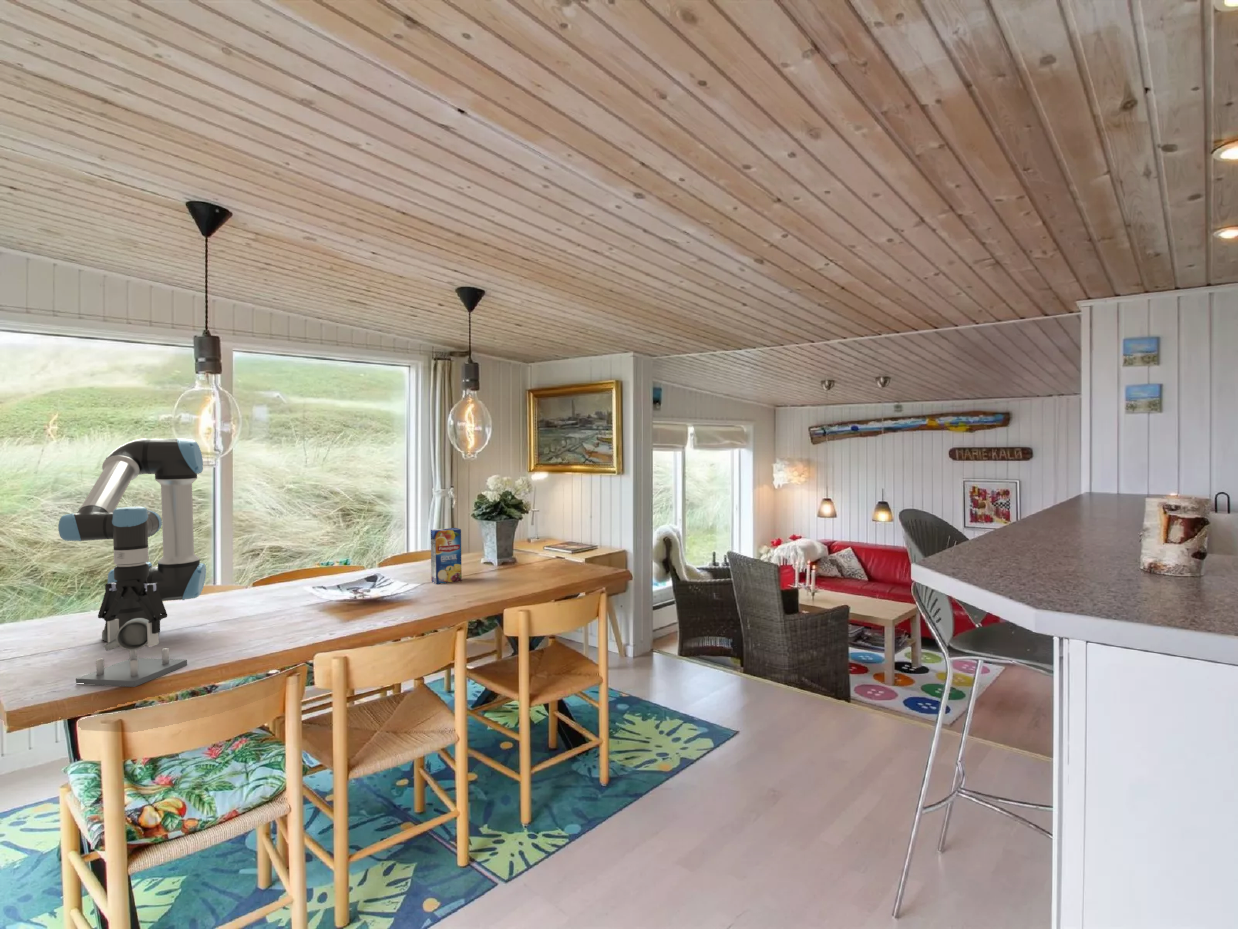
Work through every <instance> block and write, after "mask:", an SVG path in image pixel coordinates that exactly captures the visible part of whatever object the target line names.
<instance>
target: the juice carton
mask: <svg viewBox="0 0 1238 929" xmlns="http://www.w3.org/2000/svg"><path fill="white" fill-rule="evenodd" d="M462 568H463V567H462V529H461V528H457V527H452V528H451V527H449V528H437V529H430V569H431V570H430V571H431V572H430V573H431V574H430V575H431V576H430V577H431V578H430V580H431V581H432V582H431V583H433V582H434V583H433V584H435V583H436V584H435V585H440V584H439V583H444V584H447V583H446V582H452V583H459V582H458V581H461V582H462V580H463V579H462V574H463V573H462V570H463V569H462Z"/></svg>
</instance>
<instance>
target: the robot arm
mask: <svg viewBox="0 0 1238 929" xmlns="http://www.w3.org/2000/svg"><path fill="white" fill-rule="evenodd" d="M203 466H204V462H203V456H202V451H201V447H200V446H199V444H198V443H197V441H195V440H194V439H191V438H189V439H188V438H178V437H177V438H139V439H135V440H132V441H129V442H126V443H124V444H123V445H122V444H121V445H119V447H117V448H116V449H114V450H112V452H111V453H109V455H107V456H106V458H105V460H103V462H102V466H101V467H102V468H101V469H102V472H101V473H100V475H99V477H98V478H97V480H96V481H95V483H94V485H93V486H92V488H91V490H90V492H89V493H88V495H87V497H86V498H85V500H84V501H83V503H82V504H81V506H80V508H79V509H78V510H77V512H76V513H74V512H71V513H67V514H64V515H63V514H62V515H61V517H60V518H59V522H58V525H57V527H58V529H57V530H58V535H59V537H60V538H61V540H63V541H67V542H85V541H98V540H99V541H102V540H112V541H113V542H112V543H113V544H112V545H113V564H114V565H116V566H114V567H113V569H111V570H110V571H109V572H108V573H107V582H106V584H105V586H104V588H105V591H104V595H103V599H102V602H101V605H100V608H99V611H98V614H97V618H98V619H103V620H104V621H105V624H104V629H102V631H101V640H102V641H103V640H104V642H107V643H109V642H111V641H112V640H114V639H116V635H117V632H118V630H119V629H120V628H121V627H122V626H123V625H124V624H125V623H126V622H128V621H130V620H132V619H135V618H144V619H147V620H149V622H147V638H148V643H147V647H148V648H149V647H150V648H151V647H154V646H156V645H159V643H160V642H159V641H160V640H159V633H160V632H161V620H163V619H166V618H168V613H167V611H166V607H165V605H164V604H165V603H164V602H166V601H167V602H169V601H181V600H182V601H185V600H192V599H193V600H194V599H197V598H199V597H200V596H201V594H202V593H203V592H202V591H203V589H204V586H205V583H206V576H207V565H206V564H205V563H202V562H200V561H201V560H200V557H199V556H198V555H196V554H195V546H194V545H195V543H194V542H195V540H194V538H195V537H194V511H193V510H194V507H193V506H194V505H193V504H194V503H193V483H194V482H195V481H196V480H197V479H198V475H199V474H202V472H203V470H204V467H203ZM139 475H154V478H155V479H154V480H155V481H156V482H157V483H159V485H160V495H161V496H160V498H161V516H160V515H159V514H158V513H157V512H155V511H153V510H149V509H147V507H144V506H123V507H117V506H118V505H119V503H120V501H121V499H122V498H123V496H124V494H125V492H126V490H127V489H128V487H129V485H130V483H131V481H133V480H135V479H136V478H137V477H138V476H139ZM161 528H162V530H161V531H162V533H161V534H162V554H163V555H162V557H161V558H160V559H159V560H158V561H157V566H153V564H152V562H150V561H149V538H150V537H152V536H154V535H155V534H157V533H158V532H160V529H161Z"/></svg>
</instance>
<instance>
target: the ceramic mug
mask: <svg viewBox="0 0 1238 929" xmlns="http://www.w3.org/2000/svg"><path fill="white" fill-rule="evenodd" d="M147 622H149V620H147V619H144V618H135V619H132V620H130V621H128V622H126V623H125V624H124V625H123V626H122V627H121V628H120V629H119V630H118V632H117V635H116V639H114V640H112V641H111V642H109V643H108V642H107V643H106V644H104V645H103V648H104V650H106V651H107V652H108V651H111V650H113V649H116V648H118V647H120V648H121V649H122V650H126V651H130V650H139V649H142V648H144V647H145V646H147V645H148V638H147Z"/></svg>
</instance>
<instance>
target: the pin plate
mask: <svg viewBox="0 0 1238 929" xmlns="http://www.w3.org/2000/svg"><path fill="white" fill-rule="evenodd" d="M137 650H138V649H137ZM137 650H129V658H128V659H126V660H122V661H120V662H117V663H114V664H112V665H109V666H106V667H105V659H104V658H103V657H102V658H97V659H96V660H95V664H96V666H95V667H96V668H95V671H93V672H90V673H87V674H85V675H82V676H80V677H77V678H75V684H76V683H84V684H95V685H94V686H104V685H111V686H110V687H130V688H133V687H134V688H135V687H138V686H141V685H142V684H145V683H148V682H150V681H153V680H155V679H158V678H159V677H162V676H164V675H166V674H169V673H171V672H173V671H176V670H178V669H182V668H183V667H185V666H187V665H188V659H178V658H170V648H169V647H164V648H161V658H154V657H151V658H148V657H138V654H137V652H138V651H137Z"/></svg>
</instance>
